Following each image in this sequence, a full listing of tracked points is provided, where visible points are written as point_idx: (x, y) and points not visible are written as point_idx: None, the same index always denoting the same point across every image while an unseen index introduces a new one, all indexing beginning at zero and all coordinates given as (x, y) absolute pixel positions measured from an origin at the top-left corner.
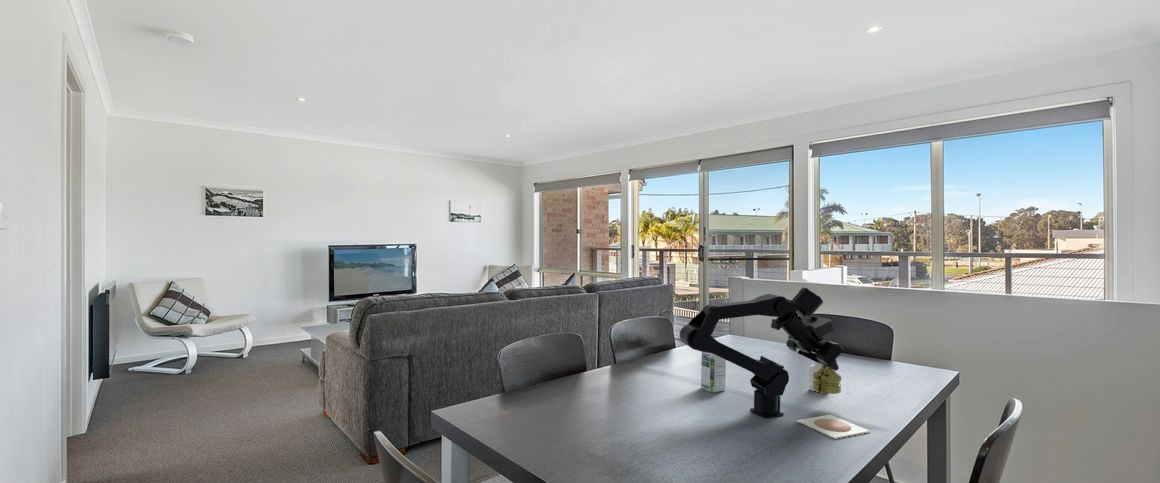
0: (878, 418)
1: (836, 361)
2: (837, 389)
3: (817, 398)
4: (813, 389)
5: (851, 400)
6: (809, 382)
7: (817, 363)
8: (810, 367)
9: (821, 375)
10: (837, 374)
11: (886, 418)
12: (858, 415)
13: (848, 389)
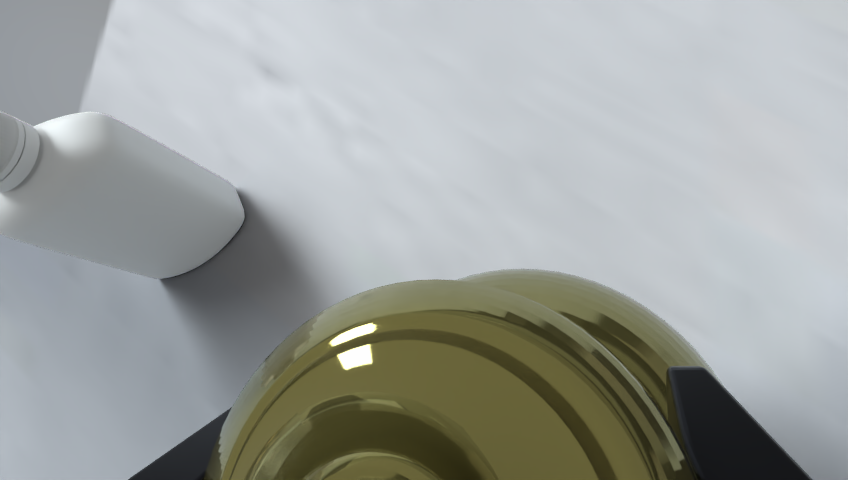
0: (780, 127)
1: (632, 375)
2: None
3: None
4: (184, 267)
5: (388, 115)
6: (122, 268)
7: (6, 177)
8: (11, 232)
9: None
10: (629, 363)
11: (779, 68)
12: (705, 245)
13: (218, 32)
